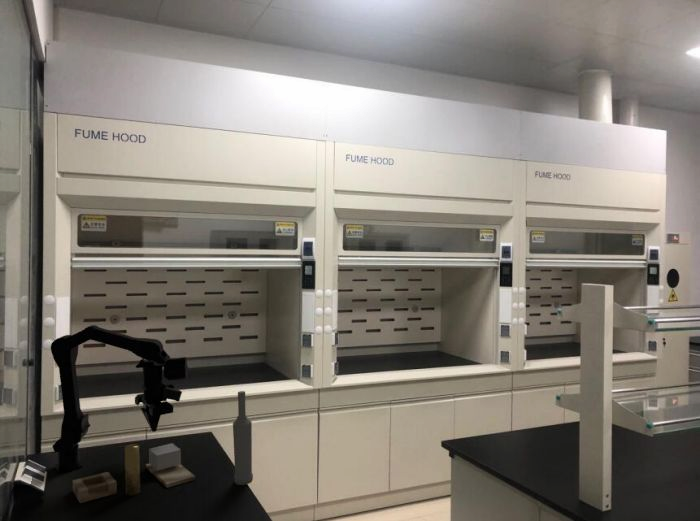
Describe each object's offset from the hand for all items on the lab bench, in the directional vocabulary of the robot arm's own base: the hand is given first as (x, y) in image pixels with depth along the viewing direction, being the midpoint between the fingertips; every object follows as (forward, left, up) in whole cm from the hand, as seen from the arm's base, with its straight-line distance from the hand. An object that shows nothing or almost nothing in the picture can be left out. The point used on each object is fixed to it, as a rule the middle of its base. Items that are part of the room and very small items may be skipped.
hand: (154, 431), depth 167 cm
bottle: (+32, +14, -9) cm, 36 cm away
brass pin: (+19, -12, -9) cm, 24 cm away
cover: (+9, 0, -7) cm, 12 cm away
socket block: (+12, -20, -9) cm, 25 cm away
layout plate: (+13, 0, -9) cm, 16 cm away
